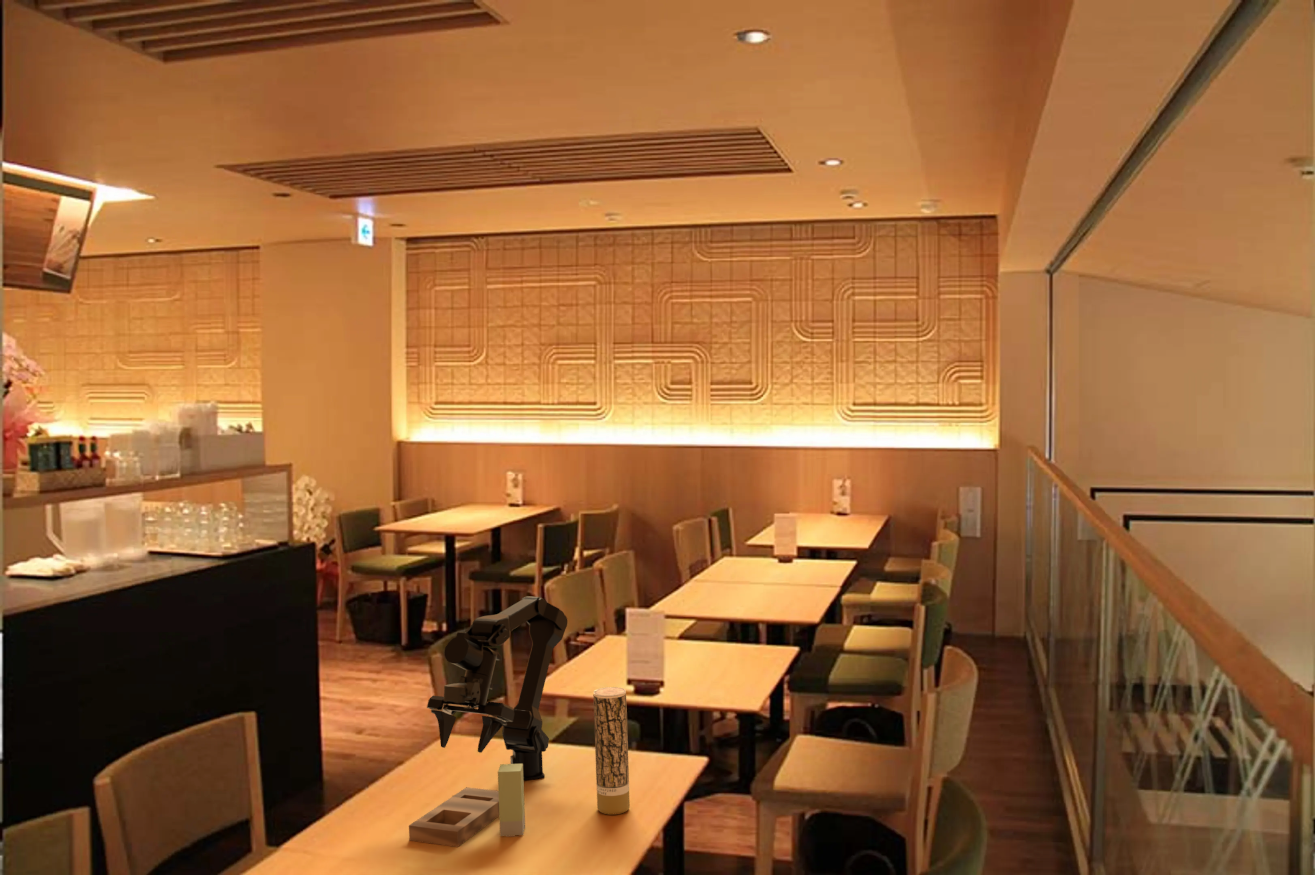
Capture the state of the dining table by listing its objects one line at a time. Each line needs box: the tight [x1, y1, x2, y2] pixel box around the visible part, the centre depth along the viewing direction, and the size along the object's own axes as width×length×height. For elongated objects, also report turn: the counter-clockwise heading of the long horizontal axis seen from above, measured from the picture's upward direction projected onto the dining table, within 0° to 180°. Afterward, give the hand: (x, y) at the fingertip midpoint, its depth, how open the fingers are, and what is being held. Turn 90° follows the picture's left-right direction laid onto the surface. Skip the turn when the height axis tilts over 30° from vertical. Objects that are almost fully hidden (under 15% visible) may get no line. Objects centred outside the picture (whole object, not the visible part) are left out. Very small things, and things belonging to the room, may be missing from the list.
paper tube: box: [593, 686, 631, 815], centre depth 232 cm, size 7×7×25 cm
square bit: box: [497, 763, 526, 837], centre depth 222 cm, size 4×4×13 cm
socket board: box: [408, 786, 499, 848], centre depth 228 cm, size 22×11×3 cm, turn 159°
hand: (460, 749), depth 232 cm, fingers open, 9 cm apart
